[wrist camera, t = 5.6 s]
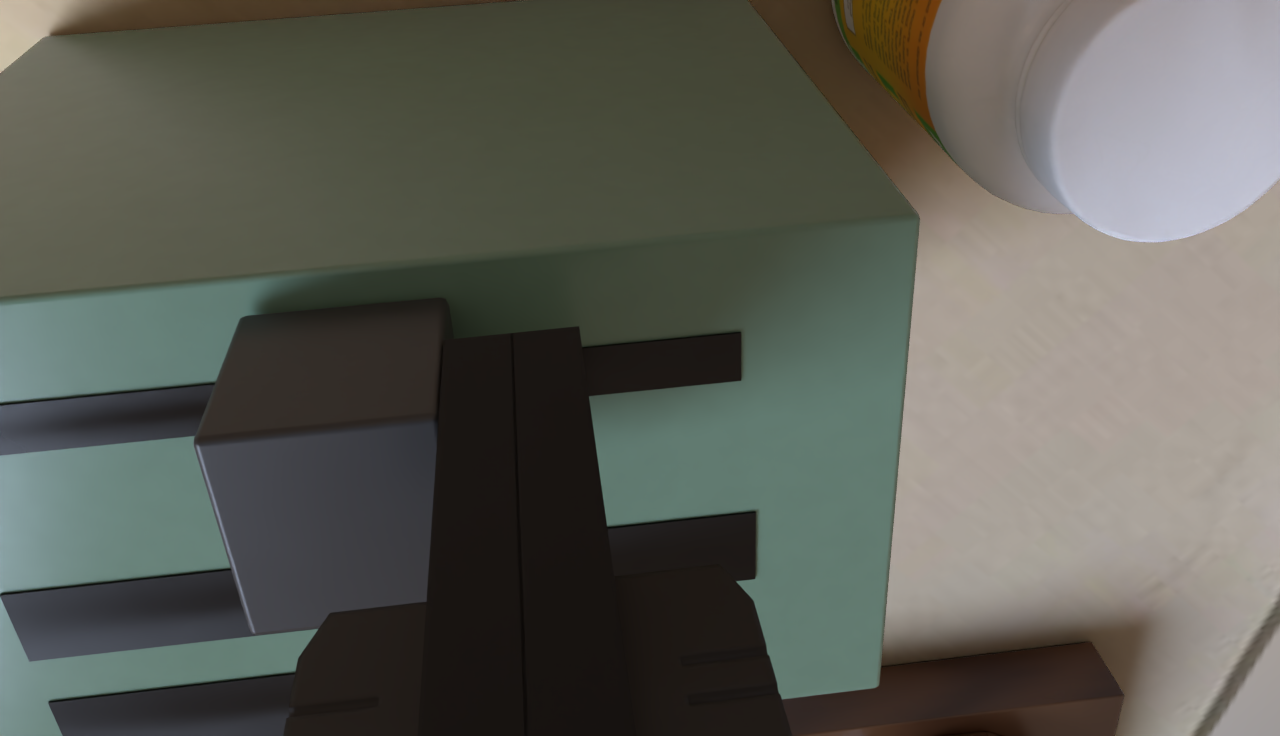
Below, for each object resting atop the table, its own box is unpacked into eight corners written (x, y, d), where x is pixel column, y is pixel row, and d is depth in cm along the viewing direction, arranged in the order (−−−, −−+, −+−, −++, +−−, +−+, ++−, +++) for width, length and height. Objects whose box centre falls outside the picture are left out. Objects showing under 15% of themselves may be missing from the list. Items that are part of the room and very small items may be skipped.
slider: (447, 293, 13) (440, 416, 11) (474, 473, 15) (473, 613, 13) (238, 312, 13) (188, 441, 11) (286, 492, 15) (248, 639, 12)
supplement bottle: (791, 64, 25) (944, 258, 17) (873, -206, 22) (1101, -136, 14) (1015, 111, 26) (1261, 315, 18) (1117, -141, 23) (1460, -39, 15)
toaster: (736, -17, 24) (923, 216, 14) (737, 320, 28) (881, 691, 18) (42, 35, 23) (-318, 329, 13) (150, 376, 27) (-55, 805, 17)
